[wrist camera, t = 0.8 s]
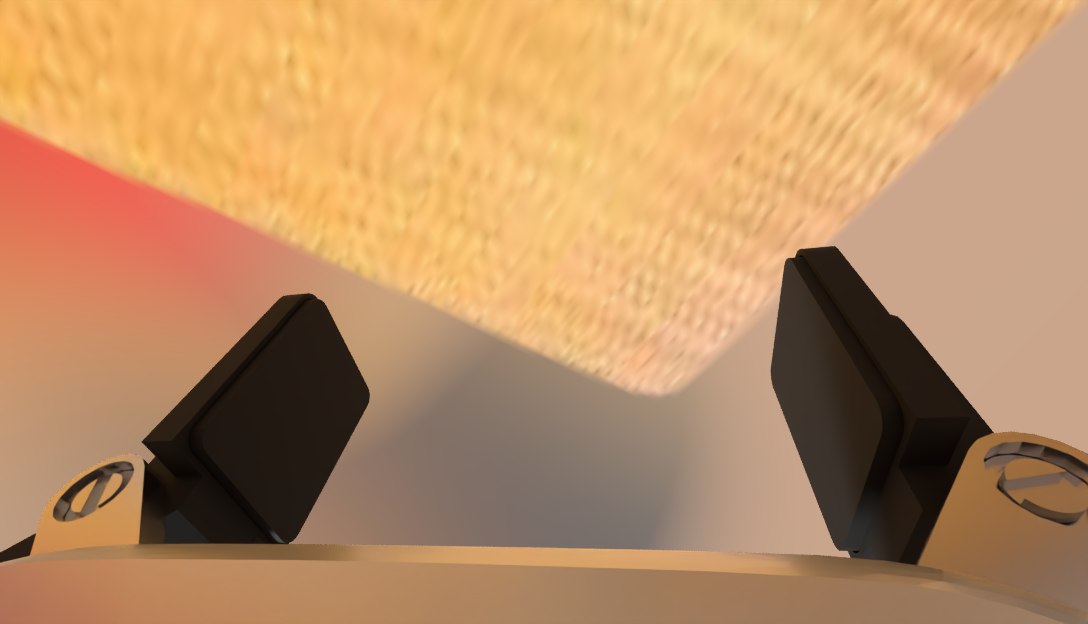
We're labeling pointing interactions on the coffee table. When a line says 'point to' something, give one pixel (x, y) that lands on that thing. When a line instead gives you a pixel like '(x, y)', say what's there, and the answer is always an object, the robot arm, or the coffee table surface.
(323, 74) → the coffee table surface
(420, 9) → the coffee table surface
